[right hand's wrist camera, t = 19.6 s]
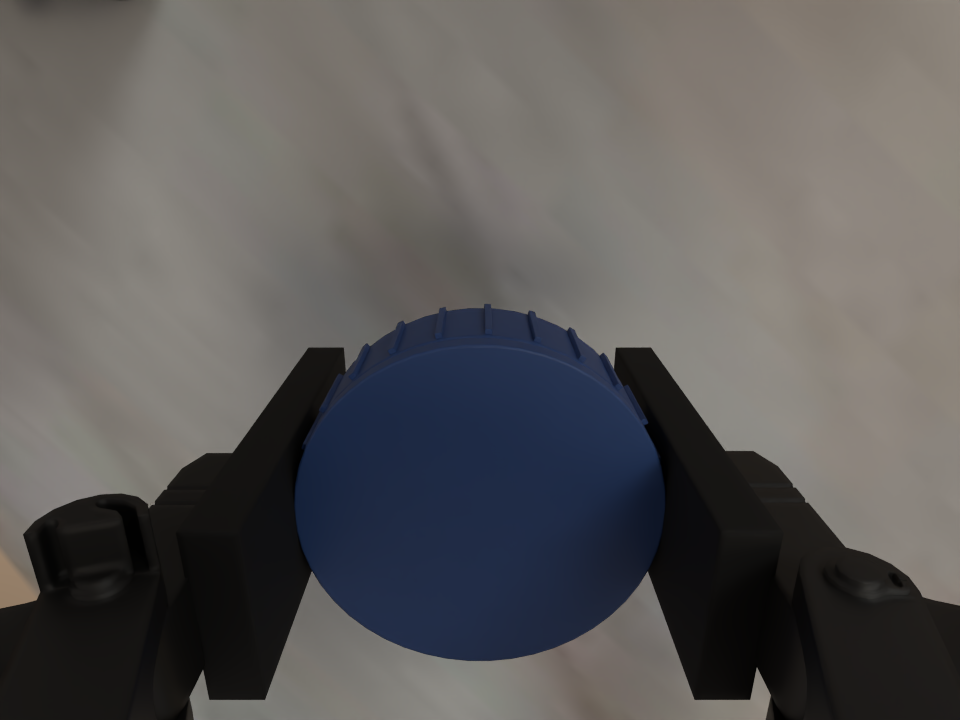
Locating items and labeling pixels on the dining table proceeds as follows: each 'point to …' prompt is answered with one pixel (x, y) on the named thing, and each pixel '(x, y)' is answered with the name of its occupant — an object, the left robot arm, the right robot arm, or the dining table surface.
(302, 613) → the dining table surface
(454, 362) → the lid
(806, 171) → the dining table surface
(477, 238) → the dining table surface
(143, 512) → the right robot arm
